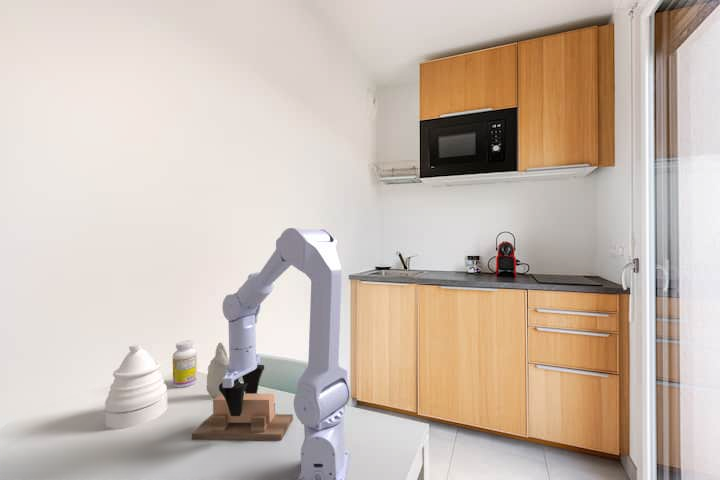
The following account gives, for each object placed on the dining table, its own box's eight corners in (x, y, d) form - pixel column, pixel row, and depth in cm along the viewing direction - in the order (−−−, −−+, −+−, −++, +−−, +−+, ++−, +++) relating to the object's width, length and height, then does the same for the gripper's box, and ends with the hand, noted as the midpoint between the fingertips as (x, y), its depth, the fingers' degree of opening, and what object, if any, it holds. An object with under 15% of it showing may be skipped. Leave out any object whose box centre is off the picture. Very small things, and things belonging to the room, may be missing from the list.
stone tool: (235, 394, 88) (234, 341, 89) (228, 399, 85) (226, 344, 86) (210, 392, 91) (209, 340, 91) (202, 397, 88) (201, 343, 88)
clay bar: (269, 422, 69) (269, 399, 69) (213, 422, 70) (212, 399, 70) (274, 415, 72) (273, 393, 72) (220, 415, 73) (220, 393, 73)
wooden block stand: (281, 440, 66) (281, 419, 66) (191, 438, 68) (191, 419, 68) (292, 419, 74) (292, 401, 74) (212, 418, 76) (211, 401, 76)
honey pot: (163, 419, 76) (162, 345, 77) (97, 434, 71) (96, 354, 71) (170, 398, 88) (169, 333, 89) (113, 409, 82) (112, 340, 83)
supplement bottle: (177, 380, 100) (177, 340, 100) (200, 378, 101) (199, 338, 102) (169, 389, 93) (168, 346, 94) (193, 386, 95) (192, 344, 95)
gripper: (240, 337, 79) (241, 391, 79) (207, 357, 65) (209, 423, 64) (267, 337, 78) (269, 391, 78) (240, 356, 64) (242, 424, 64)
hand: (244, 406), depth 71 cm, fingers open, 7 cm apart
